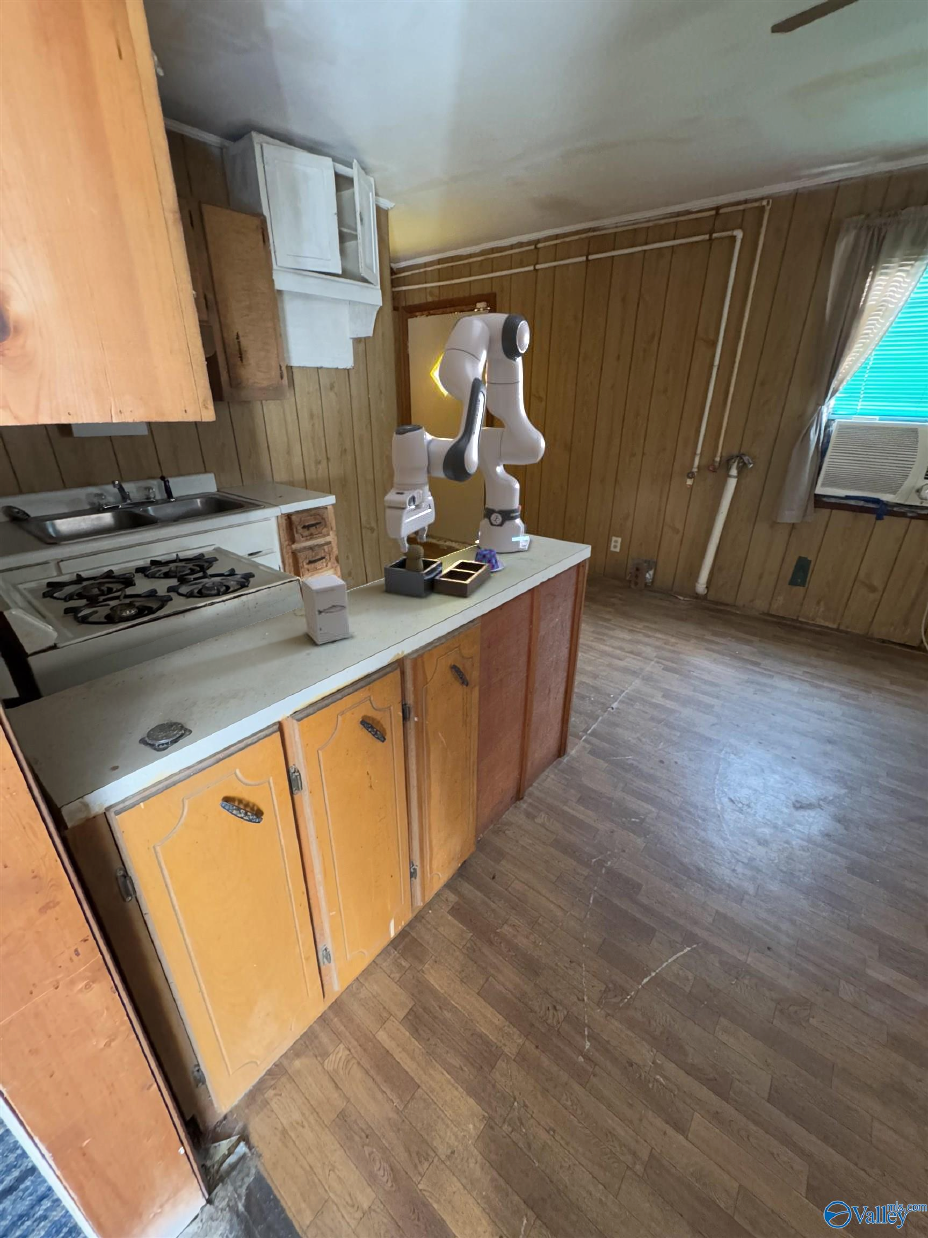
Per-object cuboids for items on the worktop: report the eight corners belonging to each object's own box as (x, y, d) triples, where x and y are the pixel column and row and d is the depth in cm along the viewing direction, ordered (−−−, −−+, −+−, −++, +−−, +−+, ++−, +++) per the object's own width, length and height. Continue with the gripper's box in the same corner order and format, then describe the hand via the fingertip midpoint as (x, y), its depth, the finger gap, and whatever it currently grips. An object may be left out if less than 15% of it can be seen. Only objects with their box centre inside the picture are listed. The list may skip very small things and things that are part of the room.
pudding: (458, 566, 155) (458, 550, 152) (486, 559, 162) (486, 543, 160) (485, 576, 147) (486, 559, 144) (513, 567, 154) (514, 551, 152)
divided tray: (460, 572, 149) (460, 559, 148) (490, 576, 146) (490, 563, 144) (434, 592, 134) (433, 578, 133) (467, 597, 131) (467, 583, 129)
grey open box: (405, 578, 144) (405, 555, 141) (442, 584, 140) (442, 560, 137) (385, 591, 134) (383, 567, 132) (424, 598, 130) (423, 573, 128)
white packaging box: (318, 645, 105) (311, 589, 100) (306, 633, 110) (299, 578, 105) (351, 637, 109) (346, 582, 103) (339, 625, 114) (333, 572, 109)
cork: (427, 581, 139) (426, 543, 135) (424, 589, 134) (423, 549, 130) (406, 580, 140) (404, 542, 136) (401, 588, 134) (400, 548, 130)
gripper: (419, 486, 137) (420, 535, 143) (379, 500, 120) (383, 555, 125) (440, 487, 135) (440, 538, 140) (403, 502, 118) (405, 558, 123)
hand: (413, 546), depth 133 cm, fingers open, 8 cm apart
